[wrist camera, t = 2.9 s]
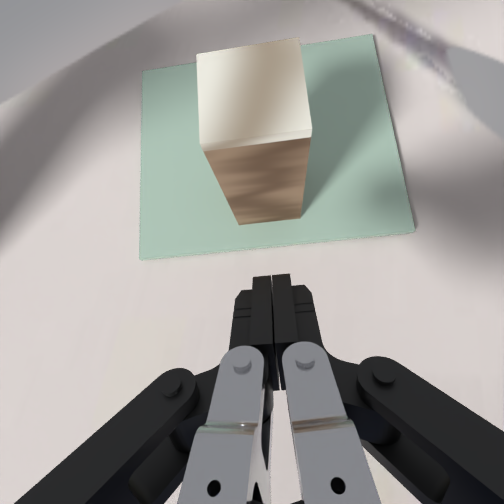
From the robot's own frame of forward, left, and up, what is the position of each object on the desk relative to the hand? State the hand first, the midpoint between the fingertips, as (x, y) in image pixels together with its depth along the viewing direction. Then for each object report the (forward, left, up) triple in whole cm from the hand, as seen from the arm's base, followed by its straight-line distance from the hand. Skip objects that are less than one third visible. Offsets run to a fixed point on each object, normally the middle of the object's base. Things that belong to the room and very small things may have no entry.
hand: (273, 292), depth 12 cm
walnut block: (0, +9, -11) cm, 14 cm away
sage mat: (0, +14, -11) cm, 18 cm away
